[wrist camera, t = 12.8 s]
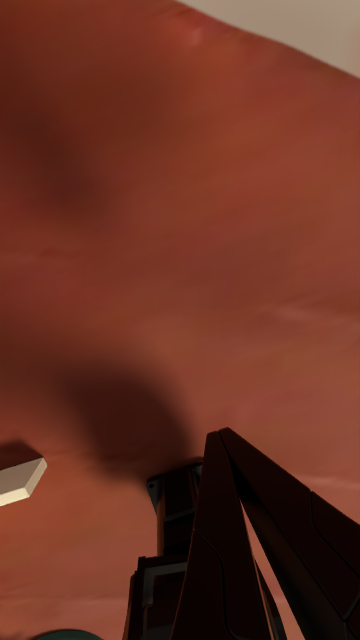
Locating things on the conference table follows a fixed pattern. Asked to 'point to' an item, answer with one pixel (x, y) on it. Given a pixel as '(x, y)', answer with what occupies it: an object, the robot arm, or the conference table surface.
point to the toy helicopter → (70, 636)
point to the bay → (20, 480)
